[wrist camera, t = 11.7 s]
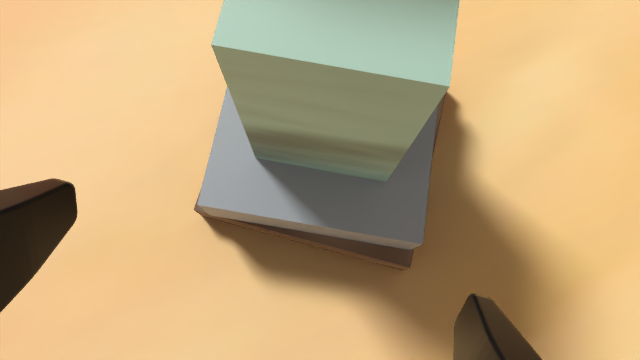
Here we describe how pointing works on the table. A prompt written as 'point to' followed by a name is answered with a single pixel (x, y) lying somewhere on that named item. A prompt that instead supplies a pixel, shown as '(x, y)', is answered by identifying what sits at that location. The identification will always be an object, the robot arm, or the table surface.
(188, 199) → the table surface
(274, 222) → the slate grey top slab
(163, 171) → the table surface
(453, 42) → the sage green block
